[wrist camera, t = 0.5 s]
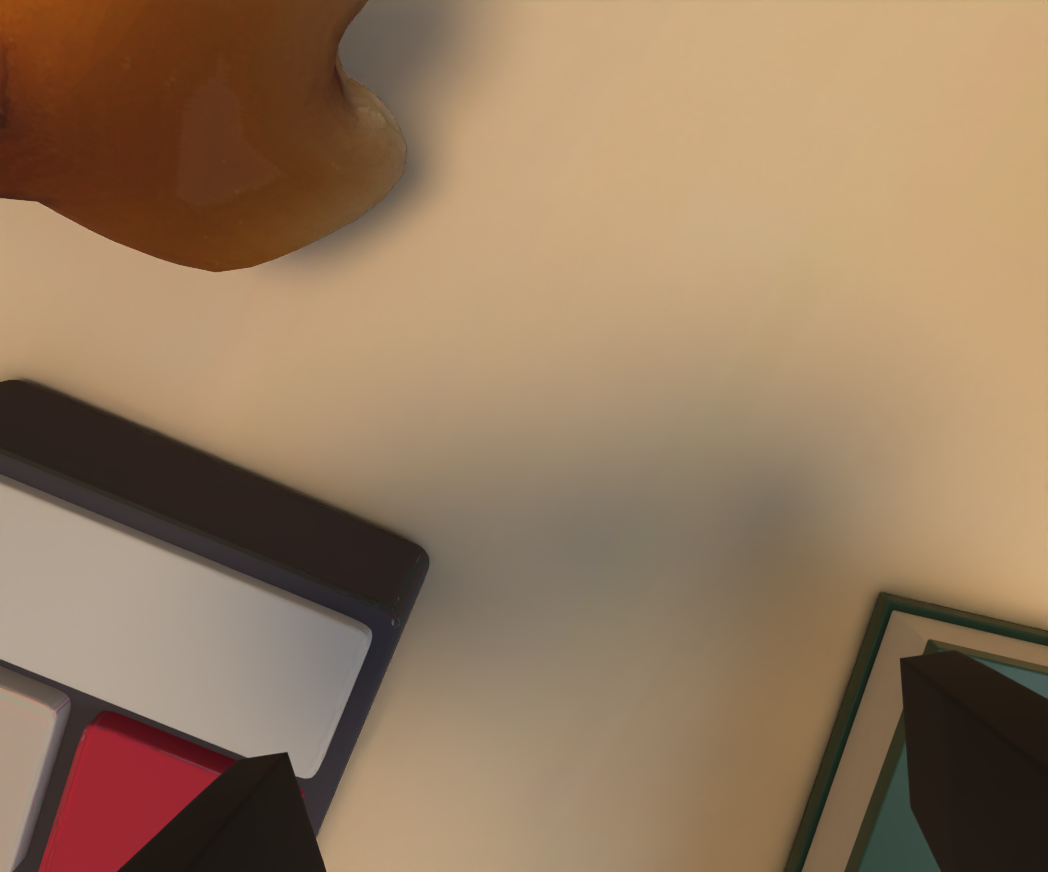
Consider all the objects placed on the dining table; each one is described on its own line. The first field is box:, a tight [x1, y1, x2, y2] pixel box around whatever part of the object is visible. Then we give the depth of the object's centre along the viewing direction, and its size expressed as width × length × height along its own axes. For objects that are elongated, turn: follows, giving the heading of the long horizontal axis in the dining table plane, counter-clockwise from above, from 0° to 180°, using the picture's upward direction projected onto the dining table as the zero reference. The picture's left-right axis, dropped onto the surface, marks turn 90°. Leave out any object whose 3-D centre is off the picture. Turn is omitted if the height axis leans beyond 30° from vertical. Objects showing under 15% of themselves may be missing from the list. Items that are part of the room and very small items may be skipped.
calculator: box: [0, 380, 429, 872], centre depth 19 cm, size 11×4×15 cm
